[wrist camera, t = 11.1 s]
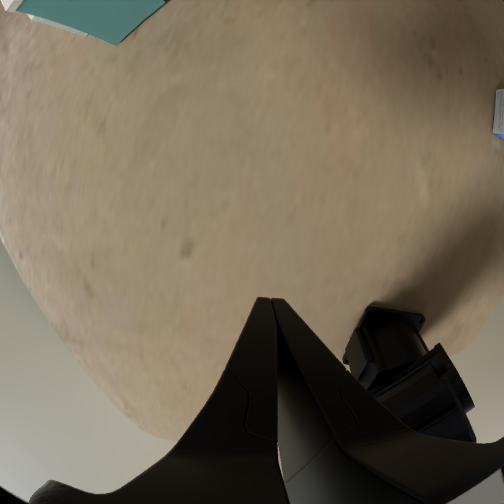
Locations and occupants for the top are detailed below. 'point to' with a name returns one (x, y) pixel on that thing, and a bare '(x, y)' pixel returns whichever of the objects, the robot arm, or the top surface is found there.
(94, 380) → the top surface
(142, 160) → the top surface
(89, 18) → the teal and white block
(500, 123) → the medicine box
